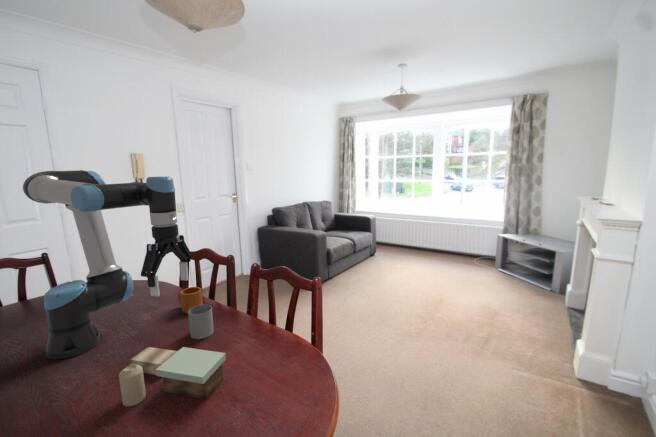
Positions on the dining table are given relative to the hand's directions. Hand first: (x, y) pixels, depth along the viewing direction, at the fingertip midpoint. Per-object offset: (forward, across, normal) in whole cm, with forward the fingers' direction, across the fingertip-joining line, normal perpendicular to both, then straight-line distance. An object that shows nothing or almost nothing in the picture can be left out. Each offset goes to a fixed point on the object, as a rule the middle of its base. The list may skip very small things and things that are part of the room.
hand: (171, 287), depth 100 cm
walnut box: (+24, -12, -16) cm, 32 cm away
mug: (+25, +32, +19) cm, 45 cm away
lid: (+18, -12, -16) cm, 27 cm away
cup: (+25, +14, 0) cm, 28 cm away
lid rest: (+24, -7, +2) cm, 26 cm away
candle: (+25, -21, -3) cm, 32 cm away
